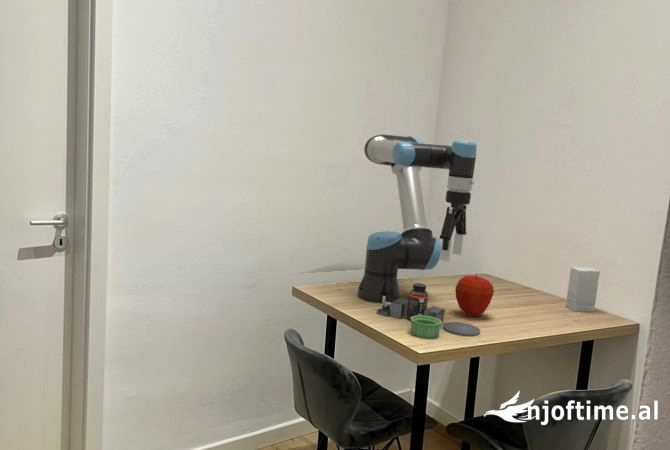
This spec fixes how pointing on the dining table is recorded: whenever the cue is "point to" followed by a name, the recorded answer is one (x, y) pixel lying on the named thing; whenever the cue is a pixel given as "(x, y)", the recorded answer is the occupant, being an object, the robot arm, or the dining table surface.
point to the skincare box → (582, 289)
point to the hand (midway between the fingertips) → (450, 257)
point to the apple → (473, 294)
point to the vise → (401, 307)
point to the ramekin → (425, 326)
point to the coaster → (461, 329)
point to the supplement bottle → (417, 300)
